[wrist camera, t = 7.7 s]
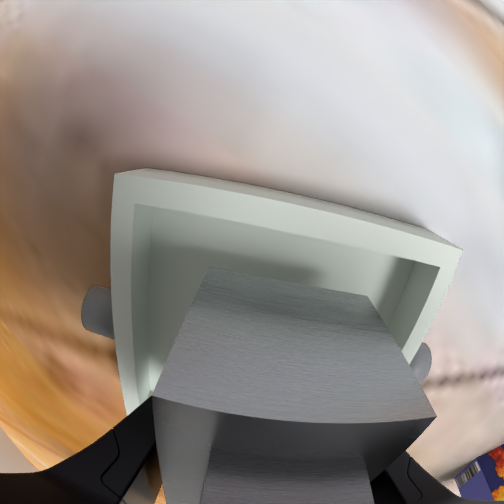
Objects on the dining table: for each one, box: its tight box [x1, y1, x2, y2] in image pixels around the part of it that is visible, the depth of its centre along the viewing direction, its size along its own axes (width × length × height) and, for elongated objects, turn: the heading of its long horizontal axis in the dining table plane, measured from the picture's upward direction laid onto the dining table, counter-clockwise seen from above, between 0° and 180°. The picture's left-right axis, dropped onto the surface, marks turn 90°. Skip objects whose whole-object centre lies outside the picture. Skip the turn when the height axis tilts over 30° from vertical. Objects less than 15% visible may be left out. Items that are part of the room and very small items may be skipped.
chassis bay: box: [81, 168, 463, 416], centre depth 11 cm, size 12×15×2 cm
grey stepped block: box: [152, 266, 437, 504], centre depth 7 cm, size 7×5×6 cm
